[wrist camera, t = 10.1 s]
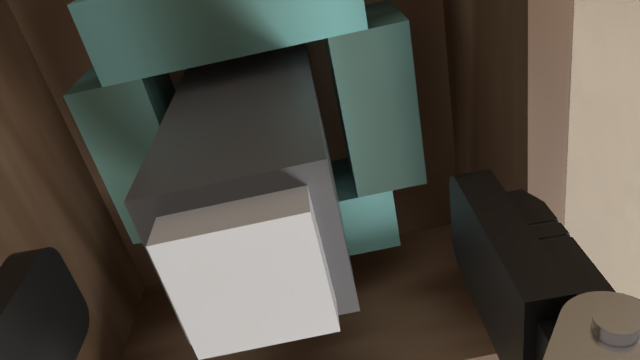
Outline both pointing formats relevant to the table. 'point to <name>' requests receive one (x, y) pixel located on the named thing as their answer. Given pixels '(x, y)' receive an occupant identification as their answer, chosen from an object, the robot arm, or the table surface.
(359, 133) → the walled box
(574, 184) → the table surface
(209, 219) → the block
